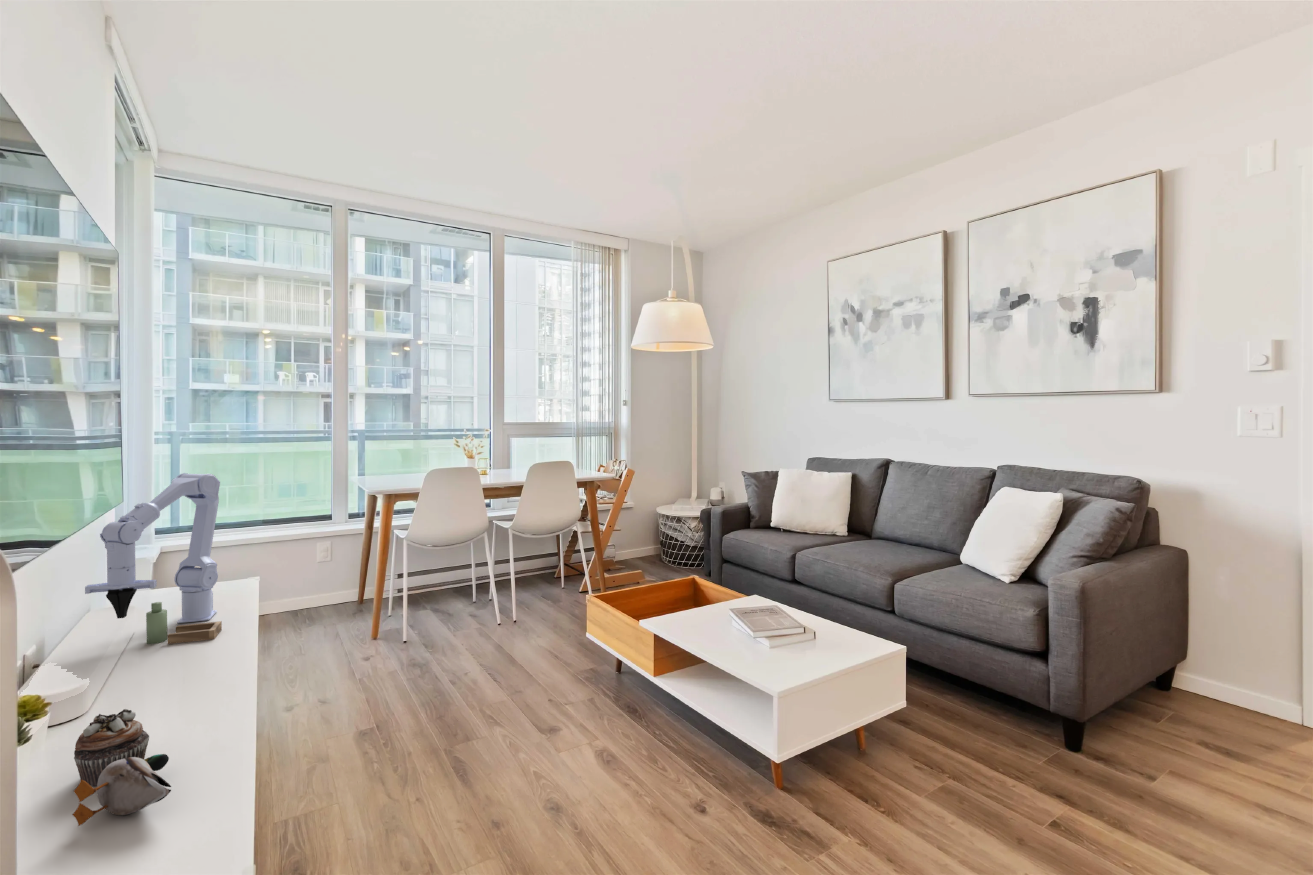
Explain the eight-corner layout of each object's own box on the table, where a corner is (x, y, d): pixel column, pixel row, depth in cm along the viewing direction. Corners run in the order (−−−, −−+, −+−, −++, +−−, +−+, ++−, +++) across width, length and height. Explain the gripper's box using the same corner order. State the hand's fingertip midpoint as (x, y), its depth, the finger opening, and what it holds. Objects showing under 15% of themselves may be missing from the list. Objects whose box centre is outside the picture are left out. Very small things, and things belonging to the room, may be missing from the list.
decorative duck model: (146, 734, 105) (228, 735, 104) (144, 780, 105) (227, 781, 103) (53, 775, 90) (147, 777, 89) (50, 829, 90) (145, 831, 88)
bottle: (149, 639, 168) (149, 601, 168) (169, 637, 170) (169, 599, 170) (144, 644, 164) (143, 606, 164) (164, 642, 166) (163, 604, 166)
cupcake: (69, 797, 98) (68, 734, 98) (79, 769, 106) (78, 711, 105) (147, 777, 103) (146, 718, 103) (151, 751, 111) (151, 697, 111)
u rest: (177, 634, 172) (177, 625, 172) (221, 629, 177) (221, 621, 176) (167, 644, 165) (167, 634, 165) (214, 638, 169) (214, 629, 169)
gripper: (79, 572, 157) (80, 625, 157) (150, 567, 163) (150, 618, 163) (91, 566, 164) (92, 617, 164) (159, 561, 169) (159, 610, 170)
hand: (121, 617), depth 164 cm, fingers closed
